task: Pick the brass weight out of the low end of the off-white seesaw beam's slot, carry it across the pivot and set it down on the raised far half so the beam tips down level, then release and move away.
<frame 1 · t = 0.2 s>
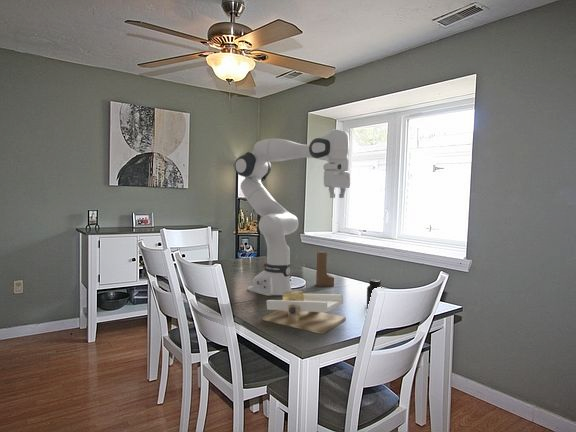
hand: (337, 197, 177), 47 cm above the table, tool pointing down, fingers open, 8 cm apart
wooden block: (324, 285, 214), on the table
supplement bottle: (374, 307, 176), on the table
stand: (304, 319, 156), on the table
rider: (293, 302, 158), point 6 cm above the table, tilted 8°, touching beam
beam: (304, 302, 155), point 7 cm above the table, hinge at -8.2°, touching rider
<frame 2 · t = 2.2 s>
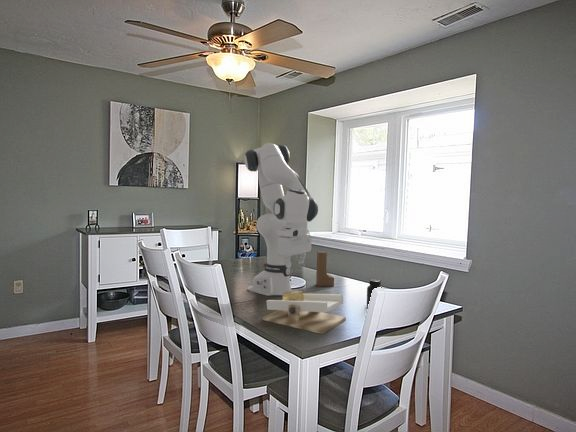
hand: (295, 265, 157), 21 cm above the table, tool pointing down, fingers open, 8 cm apart
nothing on the table moved.
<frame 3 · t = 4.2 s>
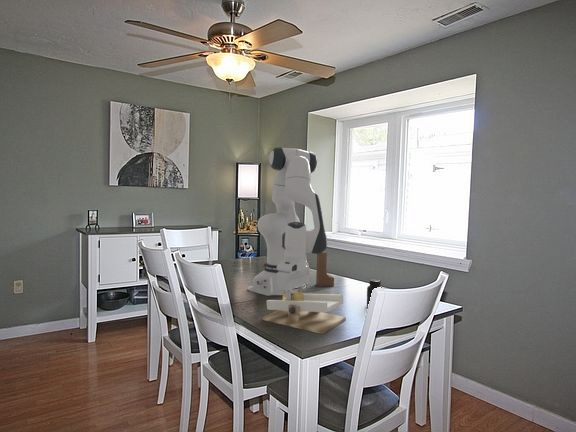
hand: (294, 298, 158), 8 cm above the table, tool pointing down, fingers closed on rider, 6 cm apart
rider: (293, 302, 158), point 6 cm above the table, tilted 8°, touching beam, gripper
everything else where it was.
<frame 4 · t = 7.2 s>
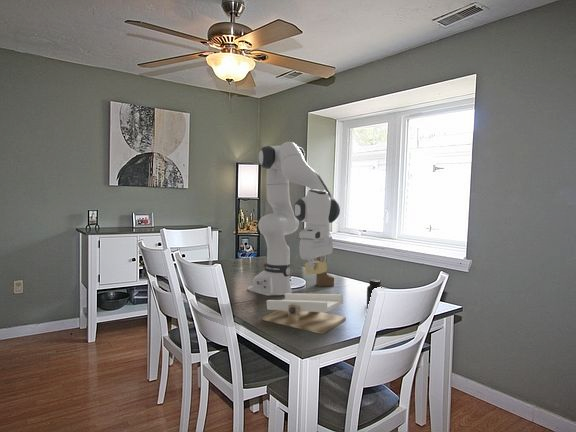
hand: (316, 268, 151), 21 cm above the table, tool pointing down, fingers closed on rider, 6 cm apart
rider: (316, 272, 151), point 19 cm above the table, tilted 9°, touching gripper
beam: (304, 302, 155), point 7 cm above the table, hinge at -8.1°
everything else where it was.
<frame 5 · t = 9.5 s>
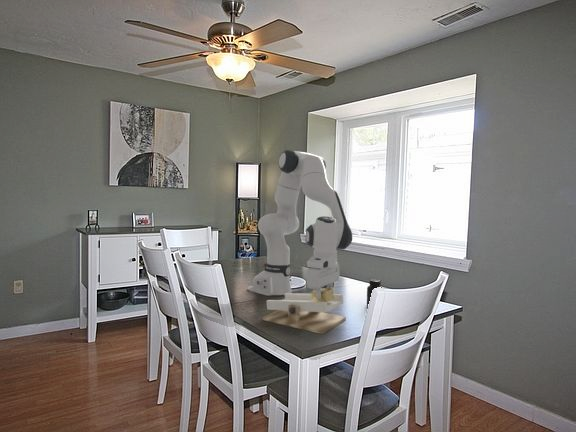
hand: (323, 296, 151), 11 cm above the table, tool pointing down, fingers closed on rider, 6 cm apart
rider: (323, 300, 151), point 9 cm above the table, tilted 8°, touching gripper
everything else where it was.
when the fingers open (11 cm above the table, at t = 10.3 s): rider drops 2 cm, resting on beam.
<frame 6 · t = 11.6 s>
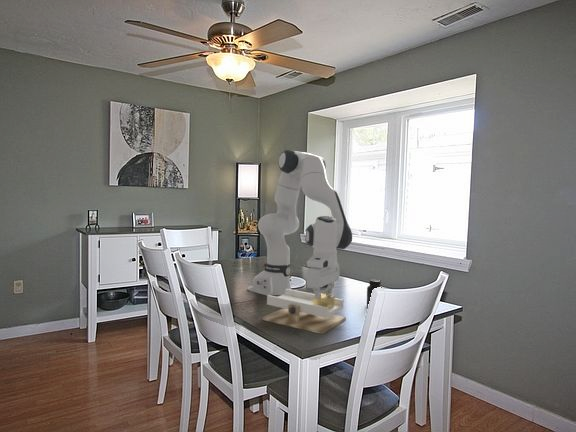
hand: (323, 296, 151), 11 cm above the table, tool pointing down, fingers open, 8 cm apart
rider: (323, 306, 151), point 7 cm above the table, touching beam
beam: (305, 302, 155), point 7 cm above the table, hinge at 0.6°, touching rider
everything else where it was.
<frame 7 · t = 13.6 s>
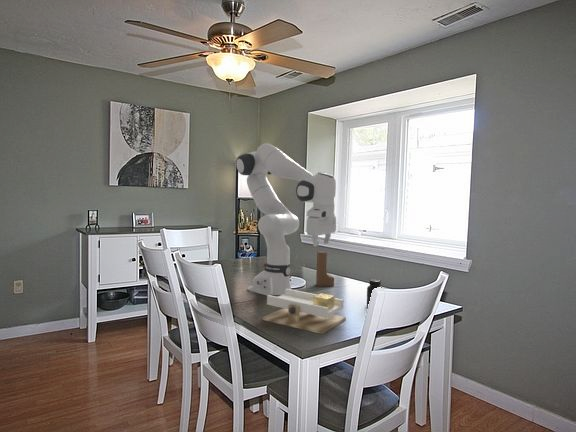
hand: (320, 244, 167), 28 cm above the table, tool pointing down, fingers open, 8 cm apart
nothing on the table moved.
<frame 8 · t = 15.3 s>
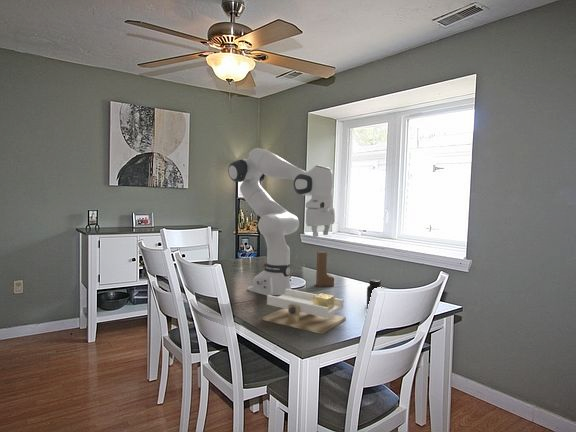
hand: (320, 235, 172), 31 cm above the table, tool pointing down, fingers open, 8 cm apart
nothing on the table moved.
at the end: beam at +1° (first picture: -8°); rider inside the target area on the beam (0.1 cm from its centre), point 0.7 cm above the beam's base; the gripper is holding nothing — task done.
